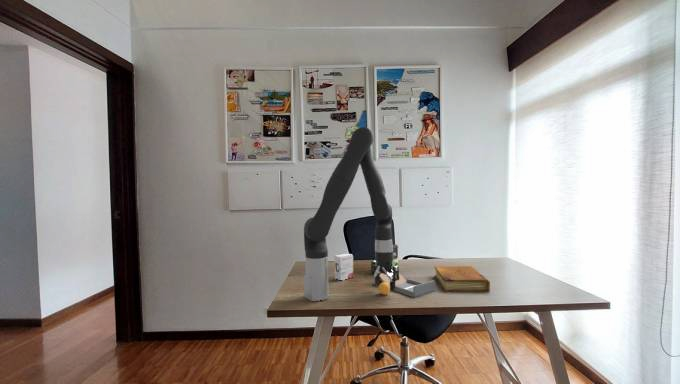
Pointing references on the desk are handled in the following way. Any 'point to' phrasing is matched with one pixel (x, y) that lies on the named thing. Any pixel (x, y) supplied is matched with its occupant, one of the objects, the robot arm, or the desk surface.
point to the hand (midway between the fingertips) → (385, 287)
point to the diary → (461, 279)
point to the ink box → (343, 266)
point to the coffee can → (395, 255)
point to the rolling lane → (410, 286)
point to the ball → (384, 288)
